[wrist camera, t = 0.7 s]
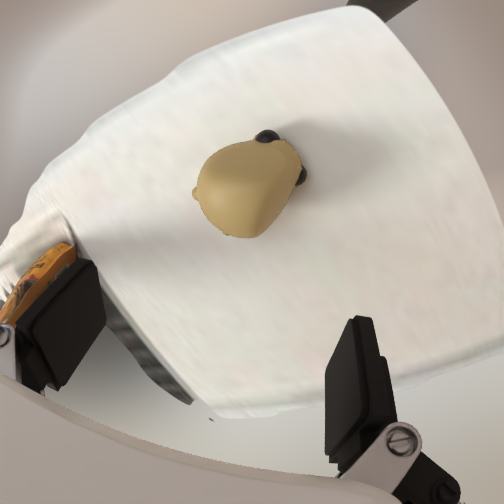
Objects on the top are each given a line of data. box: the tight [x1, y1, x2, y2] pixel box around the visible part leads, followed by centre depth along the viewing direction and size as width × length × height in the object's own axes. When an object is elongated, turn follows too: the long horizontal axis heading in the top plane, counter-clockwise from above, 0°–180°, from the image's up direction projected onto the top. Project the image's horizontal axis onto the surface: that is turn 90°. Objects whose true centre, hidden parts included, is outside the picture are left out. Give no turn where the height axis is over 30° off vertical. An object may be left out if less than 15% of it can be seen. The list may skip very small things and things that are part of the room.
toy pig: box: [192, 130, 307, 238], centre depth 32 cm, size 10×12×11 cm
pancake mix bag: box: [0, 242, 77, 328], centre depth 38 cm, size 7×19×28 cm, turn 119°
